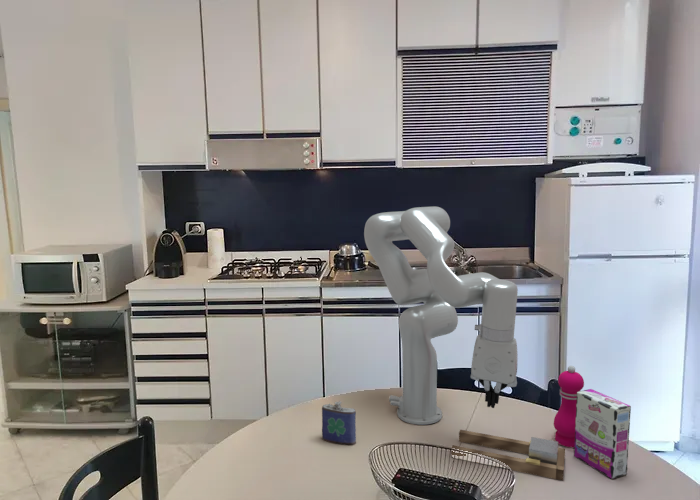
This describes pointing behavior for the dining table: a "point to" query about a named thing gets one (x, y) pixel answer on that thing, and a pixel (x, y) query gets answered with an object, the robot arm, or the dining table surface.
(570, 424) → the pepper mill
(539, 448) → the block
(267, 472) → the dining table surface
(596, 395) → the candy bar box
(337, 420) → the flask
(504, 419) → the dining table surface
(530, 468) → the track
